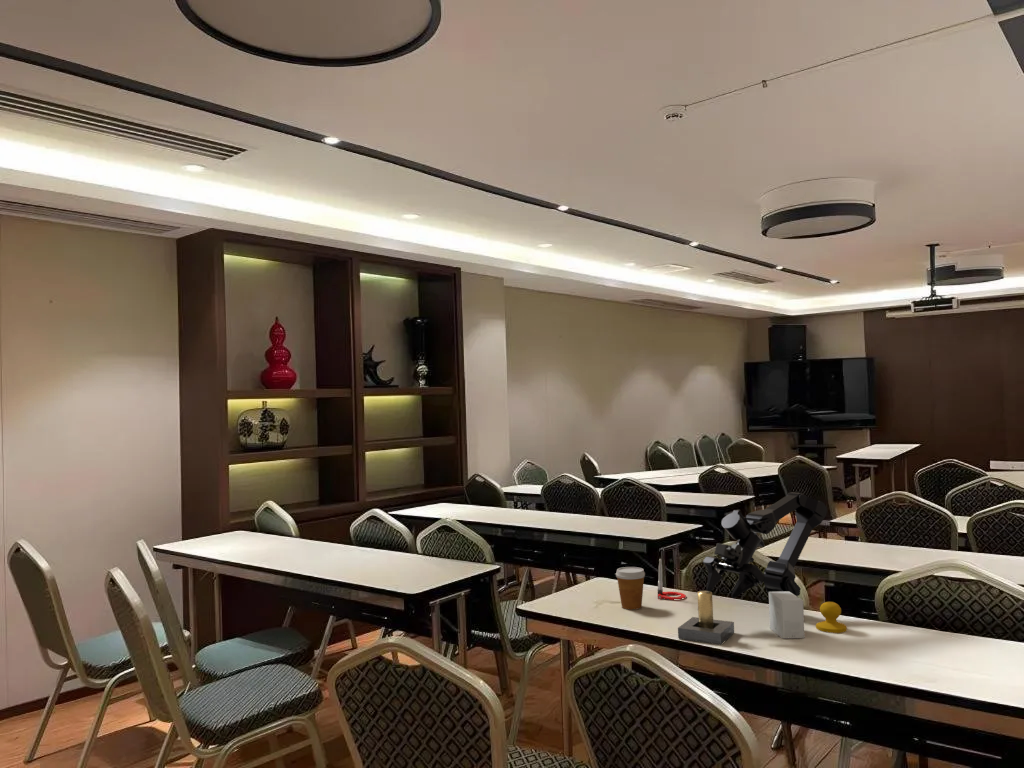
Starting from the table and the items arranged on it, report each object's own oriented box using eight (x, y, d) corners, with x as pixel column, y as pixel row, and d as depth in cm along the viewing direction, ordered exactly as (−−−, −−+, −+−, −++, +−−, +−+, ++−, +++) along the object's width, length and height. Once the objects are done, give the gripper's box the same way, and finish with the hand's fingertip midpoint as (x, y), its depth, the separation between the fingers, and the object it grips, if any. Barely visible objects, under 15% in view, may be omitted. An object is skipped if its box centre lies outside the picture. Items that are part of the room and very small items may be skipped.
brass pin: (713, 633, 213) (711, 590, 214) (714, 637, 210) (712, 594, 210) (698, 633, 214) (696, 590, 214) (700, 637, 210) (698, 594, 211)
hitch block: (734, 632, 214) (733, 621, 214) (721, 644, 203) (720, 633, 204) (693, 627, 220) (692, 616, 220) (678, 638, 210) (677, 627, 210)
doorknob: (819, 623, 219) (849, 627, 215) (813, 631, 213) (844, 634, 208) (818, 597, 220) (847, 600, 215) (812, 604, 213) (842, 607, 208)
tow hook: (686, 595, 258) (658, 594, 260) (686, 557, 258) (658, 556, 260) (685, 602, 250) (657, 600, 252) (685, 563, 250) (657, 561, 252)
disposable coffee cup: (611, 606, 247) (609, 569, 247) (635, 601, 251) (634, 565, 251) (627, 612, 238) (625, 574, 239) (652, 608, 242) (651, 570, 243)
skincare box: (806, 638, 206) (804, 599, 207) (782, 639, 206) (780, 600, 207) (791, 627, 217) (789, 590, 217) (769, 628, 217) (767, 591, 217)
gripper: (705, 528, 226) (680, 571, 220) (755, 536, 211) (730, 583, 205) (725, 551, 230) (701, 594, 224) (775, 560, 215) (751, 607, 209)
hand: (719, 594), depth 215 cm, fingers open, 9 cm apart
